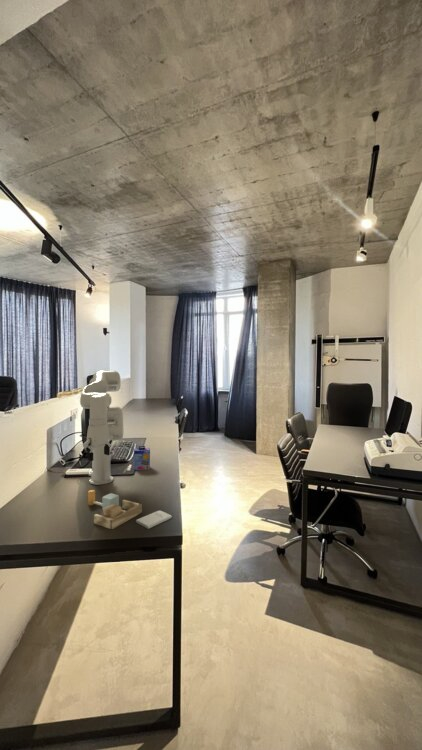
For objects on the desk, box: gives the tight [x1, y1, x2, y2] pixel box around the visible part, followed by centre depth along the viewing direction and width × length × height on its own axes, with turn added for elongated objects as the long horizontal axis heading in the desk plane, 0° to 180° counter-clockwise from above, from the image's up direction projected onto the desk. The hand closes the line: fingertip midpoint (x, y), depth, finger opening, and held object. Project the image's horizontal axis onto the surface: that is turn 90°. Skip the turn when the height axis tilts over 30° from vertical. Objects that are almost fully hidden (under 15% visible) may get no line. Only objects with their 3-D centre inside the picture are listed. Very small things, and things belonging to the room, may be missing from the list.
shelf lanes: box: [93, 499, 143, 530], centre depth 140 cm, size 10×17×4 cm, turn 151°
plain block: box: [102, 504, 122, 519], centre depth 136 cm, size 5×5×6 cm
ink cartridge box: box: [133, 445, 151, 471], centre depth 205 cm, size 10×6×14 cm, turn 104°
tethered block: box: [87, 489, 120, 511], centre depth 150 cm, size 16×5×6 cm, turn 61°
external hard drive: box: [135, 510, 173, 529], centre depth 138 cm, size 2×8×12 cm
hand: (98, 457), depth 156 cm, fingers open, 9 cm apart
